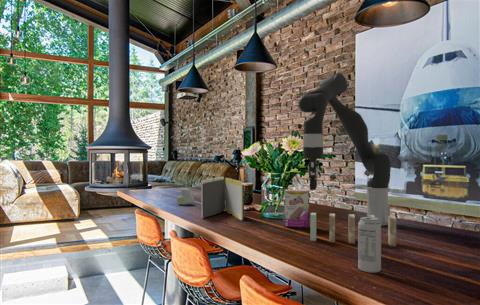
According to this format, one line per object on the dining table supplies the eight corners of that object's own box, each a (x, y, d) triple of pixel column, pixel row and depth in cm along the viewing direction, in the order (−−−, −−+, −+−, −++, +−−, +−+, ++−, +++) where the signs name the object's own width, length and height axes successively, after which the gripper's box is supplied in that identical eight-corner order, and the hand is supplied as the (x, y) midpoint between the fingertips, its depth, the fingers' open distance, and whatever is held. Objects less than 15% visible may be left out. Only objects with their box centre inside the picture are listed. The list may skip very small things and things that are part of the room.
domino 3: (354, 240, 138) (354, 214, 138) (354, 244, 133) (354, 216, 133) (348, 240, 138) (348, 214, 138) (349, 243, 134) (349, 216, 134)
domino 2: (334, 239, 140) (334, 213, 140) (335, 242, 135) (334, 215, 135) (329, 239, 140) (329, 213, 140) (329, 242, 135) (329, 215, 135)
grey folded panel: (249, 220, 180) (249, 180, 180) (206, 223, 173) (206, 181, 173) (228, 209, 213) (228, 176, 213) (191, 211, 206) (191, 177, 206)
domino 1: (310, 241, 137) (310, 214, 137) (311, 238, 142) (311, 212, 142) (315, 241, 137) (315, 214, 137) (316, 238, 141) (316, 212, 141)
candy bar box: (283, 227, 162) (283, 190, 162) (283, 225, 167) (283, 189, 167) (309, 228, 161) (309, 190, 161) (308, 225, 166) (308, 189, 166)
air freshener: (196, 204, 235) (196, 188, 235) (187, 205, 228) (187, 189, 228) (183, 203, 241) (183, 187, 241) (174, 204, 234) (174, 189, 234)
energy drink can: (385, 272, 101) (385, 218, 101) (372, 277, 98) (372, 221, 98) (366, 267, 106) (366, 215, 106) (353, 271, 103) (353, 217, 103)
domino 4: (393, 243, 135) (393, 215, 134) (396, 246, 130) (396, 218, 130) (388, 242, 135) (388, 215, 135) (390, 246, 130) (390, 218, 130)
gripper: (304, 146, 147) (304, 186, 147) (301, 146, 133) (302, 190, 133) (323, 146, 145) (323, 187, 145) (322, 145, 131) (323, 190, 131)
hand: (313, 188), depth 139 cm, fingers open, 8 cm apart
